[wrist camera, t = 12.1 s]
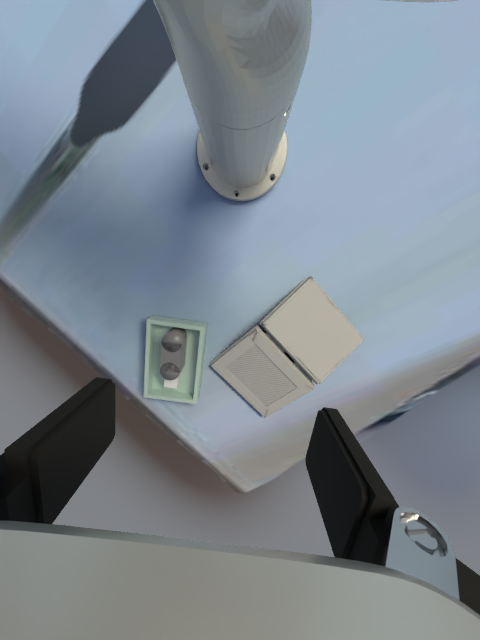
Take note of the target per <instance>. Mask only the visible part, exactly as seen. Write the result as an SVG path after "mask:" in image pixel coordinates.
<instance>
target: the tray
mask: <svg viewBox="0 0 480 640" xmlns="http://www.w3.org/2000/svg"><path fill="white" fill-rule="evenodd" d="M173 327H177V328H183V329H185V331H186V332H187V347H186V358H185V365H184V367H183V369H182V371H181V373H180V379H179V385H178V387H177V389H175V388H168V387H164V378H163V377H162V376H161V374H160V359H161V342H162V338H163V336H164V335H165V334H166V333H168V332H169V331H170V330H171V329H172V328H173ZM206 331H207V323H204V322H197V321H190V320H183V319H176V318H169V317H162V316H155V315H153V316H151V317H149V318H147V322H146V348H145V374H144V397H145V398H152V399H160V400H168V401H175V402H183V403H191V404H197V402H198V399H199V395H200V386H201V377H202V368H203V359H204V350H205V340H206Z"/></svg>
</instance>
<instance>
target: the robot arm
mask: <svg viewBox="0 0 480 640" xmlns="http://www.w3.org/2000/svg"><path fill="white" fill-rule="evenodd" d="M153 1H154V3H155V5H156V7H157V10H158V12H159V14H160V16H161V18H162V21H163V24H164V26H165V29H166V31H167V34H168V36H169V39H170V41H171V44H172V47H173V50H174V53H175V56H176V59H177V62H178V65H179V68H180V71H181V74H182V77H183V81H184V84H185V87H186V90H187V93H188V96H189V99H190V102H191V105H192V108H193V111H194V114H195V118H196V121H197V124H198V127H199V134H198V140H197V155H198V161H199V165H200V168H201V171H202V173H203V175H204V177H205V179H206V180H207V182H208V183H209V185H210V186H211V187H212V188H213V189H214V190H215V191H216V192H217V193H219V194H220V195H221V196H223V197H225V198H228V199H230V200H234V201H250V200H254V199H256V198H259V197H261V196H263V195H264V194H265V193H267V192H268V191H269V190H270V189H271V188H272V187H273V186H274V185H275V184H276V182H277V181H278V179H279V178H280V176H281V174H282V172H283V169H284V166H285V163H286V158H287V152H288V142H287V136H286V131H285V127H286V123H287V120H288V117H289V114H290V111H291V108H292V104H293V101H294V98H295V95H296V92H297V89H298V85H299V82H300V79H301V76H302V72H303V69H304V66H305V63H306V58H307V54H308V49H309V43H310V34H311V21H312V9H311V0H153ZM386 1H404V2H447V1H456V0H386ZM205 168H208V170H205ZM270 178H273V179H274V180H273V181H272V180H270ZM236 193H237V194H239V195H238V196H237V197H236V196H235V194H236ZM114 436H115V383H112V380H111V379H106V378H99V377H98V378H95V379H94V380H92V381H91V382H90V383H89V384H87V385H86V386H85V387H83V388H82V389H81V390H80V391H78V392H77V393H76V394H74V395H73V396H72V397H71V398H69V399H68V400H67V401H66V402H64V403H63V404H62V405H61V406H59V407H58V408H57V409H55V410H54V411H53V412H52V413H50V414H49V415H48V416H46V417H45V418H44V419H43V420H41V421H40V422H39V423H38V424H36V425H35V426H34V427H33V428H31V429H30V430H29V431H27V432H26V433H25V434H24V435H22V436H21V437H20V438H19V439H17V440H16V441H15V442H13V443H12V444H11V445H10V446H8V447H7V448H6V449H5V452H4V453H3V454H2V455H0V640H480V576H479V575H478V574H477V573H475V572H474V571H473V570H471V569H470V568H469V567H467V566H466V565H464V564H463V563H462V562H460V561H459V560H458V559H456V557H455V552H454V548H453V546H452V544H451V542H450V540H449V539H448V537H447V536H446V535H445V533H444V532H443V531H442V530H441V528H439V527H438V526H437V525H436V524H435V523H434V522H433V521H432V520H431V519H429V518H428V517H426V516H425V515H424V514H422V513H420V512H419V511H417V510H415V509H412V508H409V507H399V506H398V504H397V503H396V501H395V500H394V497H393V496H392V494H391V492H390V491H389V490H388V488H387V486H386V485H385V483H384V482H383V480H382V479H381V477H380V475H379V474H378V472H377V471H376V469H375V468H374V466H373V464H372V463H371V461H370V460H369V458H368V457H367V455H366V454H365V452H364V451H363V449H362V447H361V446H360V444H359V443H358V441H357V440H356V438H355V436H354V435H353V433H352V432H351V430H350V429H349V427H348V426H347V424H346V422H345V421H344V419H343V418H342V416H341V415H340V413H339V412H338V410H337V409H332V408H323V409H322V410H319V411H318V413H317V417H316V421H315V425H314V428H313V432H312V436H311V439H310V443H309V447H308V451H307V454H306V467H307V470H308V473H309V476H310V480H311V483H312V486H313V489H314V492H315V495H316V499H317V502H318V505H319V508H320V512H321V515H322V518H323V521H324V525H325V528H326V531H327V534H328V537H329V541H330V543H331V547H332V550H333V553H334V556H335V557H328V556H320V555H314V554H307V553H298V552H290V551H282V550H273V549H266V548H257V547H249V546H242V545H233V544H225V543H216V542H207V541H199V540H191V539H182V538H173V537H164V536H156V535H147V534H138V533H129V532H120V531H111V530H101V529H93V528H83V527H74V526H65V525H53V524H52V523H53V522H54V520H55V519H56V518H57V516H58V515H59V513H60V512H61V511H62V509H63V508H64V507H65V505H66V504H67V503H68V501H69V499H70V498H71V497H72V496H73V494H74V493H75V492H76V490H77V489H78V487H79V486H80V485H81V483H82V482H83V480H84V479H85V478H86V476H87V475H88V474H89V472H90V471H91V470H92V468H93V467H94V465H95V464H96V463H97V461H98V460H99V459H100V457H101V456H102V455H103V453H104V452H105V450H106V449H107V448H108V446H109V445H110V443H111V442H112V440H113V439H114Z"/></svg>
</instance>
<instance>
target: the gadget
mask: <svg viewBox="0 0 480 640" xmlns="http://www.w3.org/2000/svg"><path fill="white" fill-rule="evenodd" d="M259 324H260V325H261V326H262V327H263V328H264V329H265V330H266V331H267V332H266V333H264V332H263V330H262V329H261V328H260V327H259V326H258V325H256V326H255V327H254V328H252V329H251V330H250V331H248V332H247V333H246V334H245V335H243V336H242V337H241V338H240V339H238V340H237V341H236V342H235V343H233V344H232V345H231V346H230V347H228V348H227V349H226V350H225V351H223V352H222V353H221V354H220V355H218V356H217V357H216V358H215V359H214V360H213V361H212V362H210V363H211V367H212V368H214V369H215V370H216V371H217V372H218V373H219V374H220V375H221V376H222V377H223V378H224V379H225V380H226V381H227V382H228V383H229V384H230V385H231V386H232V387H233V388H234V389H235V390H237V391H238V392H239V393H240V394H241V395H242V396H243V397H244V398H245V399H246V400H247V401H248V402H249V403H250V404H251V405H252V406H253V407H254V408H255V409H256V410H257V411H259V412H260V413H261V414H262V415H263V416H264V417H267V416H269V415H270V414H272V413H274V412H275V411H277V410H279V409H281V408H282V407H284V406H286V405H287V404H289V403H291V402H292V401H294V400H296V399H298V398H299V397H301V396H303V395H304V394H306V393H308V392H310V391H311V390H313V387H314V384H313V383H312V382H311V381H312V380H313V381H314V382H315V383H316V384H317V383H318V384H320V383H321V382H322V381H323V380H324V379H325V378H326V377H327V376H328V375H329V374H330V373H331V372H332V371H333V370H334V369H335V368H336V367H337V366H338V365H339V364H340V363H341V362H342V361H343V360H344V359H345V358H346V357H347V356H348V355H349V354H350V353H351V352H352V351H353V350H354V349H355V348H356V347H357V346H358V345H359V344H360V343H361V342H362V341H363V340H364V339H363V337H362V336H361V335H360V334H359V333H358V331H357V330H356V329H355V328H354V327H353V325H352V324H351V323H350V322H349V321H348V319H347V318H346V317H345V316H344V315H343V314H342V312H341V311H340V310H339V309H338V308H337V306H336V305H335V304H334V303H333V302H332V300H331V299H330V298H329V297H328V296H327V295H326V293H325V292H324V291H323V290H322V289H321V287H320V286H319V285H318V284H317V283H316V281H315V280H314V279H313V278H312V277H309V278H308V279H305V280H303V281H302V282H301V283H300V284H299V285H298V286H297V287H296V288H294V289H293V290H292V291H291V292H290V293H289V294H288V295H287V296H286V297H285V298H284V299H283V300H282V301H281V302H280V303H279V304H278V305H277V306H276V307H275V308H274V309H273V310H272V311H271V312H270V313H269V314H268V315H267V316H266V317H265V318H264V319H263V320H262V321H260V322H259ZM285 351H286V352H287V353H288V355H289V356H290V357H291V358H292V359H293V360H294V362H292V361H291V360H290V359H289V358H288V357H287V356H286V355H285V354H284V352H285Z"/></svg>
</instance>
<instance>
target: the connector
mask: <svg viewBox="0 0 480 640" xmlns="http://www.w3.org/2000/svg"><path fill="white" fill-rule="evenodd" d="M186 347H187V332H186V331H185V329H183V328H177V327H173V328H172V329H171V330H170V331H169V332H168V333H166V334H165V335H164V336H163V338H162V342H161V359H160V374H161V376H162V377H163V378H164V387H168V388H175V389H177V387H178V385H179V379H180V373H181V371H182V369H183V367H184V365H185V358H186Z"/></svg>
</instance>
